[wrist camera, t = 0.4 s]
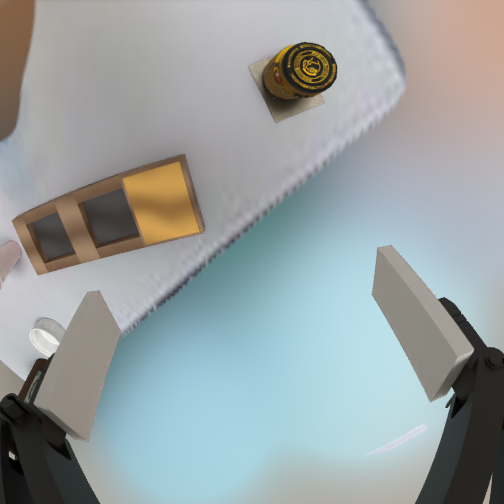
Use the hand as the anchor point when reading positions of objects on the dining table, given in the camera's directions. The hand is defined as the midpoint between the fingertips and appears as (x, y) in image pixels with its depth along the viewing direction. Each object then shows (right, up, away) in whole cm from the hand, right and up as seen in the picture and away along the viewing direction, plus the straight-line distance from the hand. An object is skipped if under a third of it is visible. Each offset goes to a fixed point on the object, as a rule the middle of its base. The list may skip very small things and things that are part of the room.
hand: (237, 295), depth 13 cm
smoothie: (-43, +2, +27) cm, 51 cm away
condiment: (+5, +24, +20) cm, 31 cm away
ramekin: (-42, -15, +37) cm, 58 cm away
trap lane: (-23, +7, +26) cm, 35 cm away
